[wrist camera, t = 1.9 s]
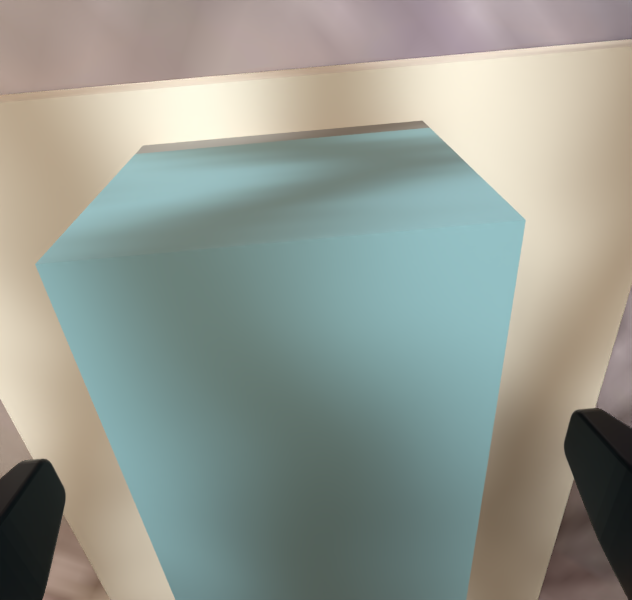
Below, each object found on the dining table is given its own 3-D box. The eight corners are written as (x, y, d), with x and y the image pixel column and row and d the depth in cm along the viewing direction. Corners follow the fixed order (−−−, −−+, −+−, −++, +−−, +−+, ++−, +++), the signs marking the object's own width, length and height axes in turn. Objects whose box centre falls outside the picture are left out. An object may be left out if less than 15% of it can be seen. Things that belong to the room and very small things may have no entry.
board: (669, 35, 10) (705, 40, 9) (507, 649, 24) (515, 673, 23) (-118, 105, 10) (-155, 116, 9) (172, 680, 24) (168, 706, 23)
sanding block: (422, 120, 10) (526, 219, 6) (410, 440, 15) (461, 625, 10) (142, 145, 10) (35, 264, 6) (222, 458, 15) (196, 650, 10)
